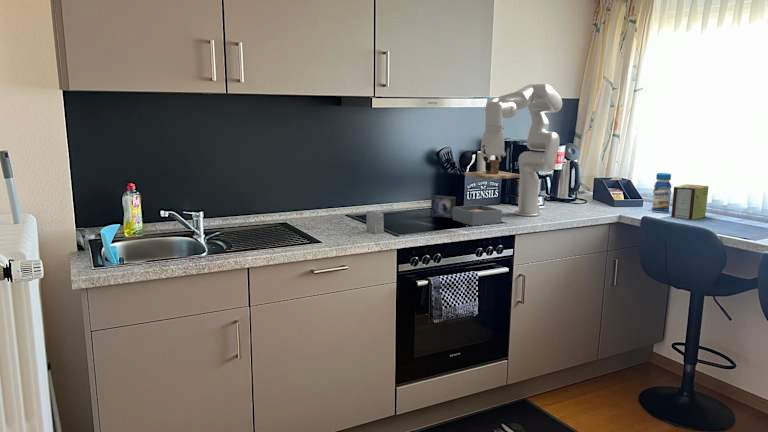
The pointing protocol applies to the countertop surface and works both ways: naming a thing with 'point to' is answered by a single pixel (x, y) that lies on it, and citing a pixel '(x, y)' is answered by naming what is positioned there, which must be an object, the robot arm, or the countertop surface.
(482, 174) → the oak lid
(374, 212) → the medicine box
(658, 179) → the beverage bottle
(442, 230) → the countertop surface
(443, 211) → the small box
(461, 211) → the slate bin
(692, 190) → the protein box
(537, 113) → the robot arm
